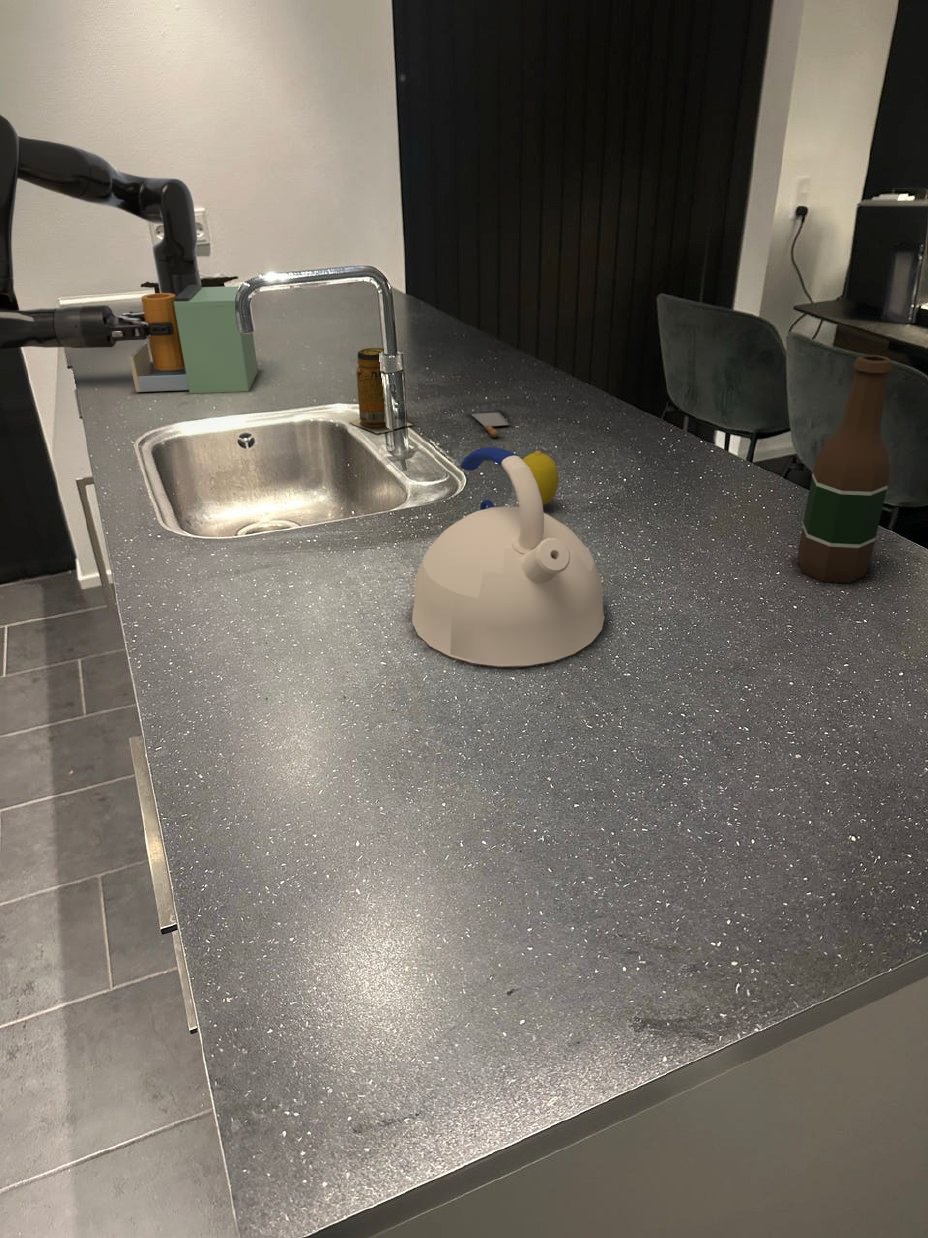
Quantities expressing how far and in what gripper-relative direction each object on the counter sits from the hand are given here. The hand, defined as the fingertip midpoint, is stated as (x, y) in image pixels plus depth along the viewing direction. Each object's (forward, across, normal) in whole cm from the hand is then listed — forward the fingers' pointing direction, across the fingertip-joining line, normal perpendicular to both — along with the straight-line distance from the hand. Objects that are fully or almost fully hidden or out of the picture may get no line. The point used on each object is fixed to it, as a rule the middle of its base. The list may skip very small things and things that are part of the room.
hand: (176, 324), depth 170 cm
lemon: (+59, -68, +11) cm, 91 cm away
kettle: (+52, -96, +11) cm, 110 cm away
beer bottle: (+90, -89, +11) cm, 127 cm away
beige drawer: (-3, 0, +11) cm, 11 cm away
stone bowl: (-12, +73, +11) cm, 75 cm away
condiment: (+38, -30, +11) cm, 50 cm away
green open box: (+7, 0, +11) cm, 13 cm away
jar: (-2, 0, +8) cm, 8 cm away
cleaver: (+57, -33, +11) cm, 67 cm away
